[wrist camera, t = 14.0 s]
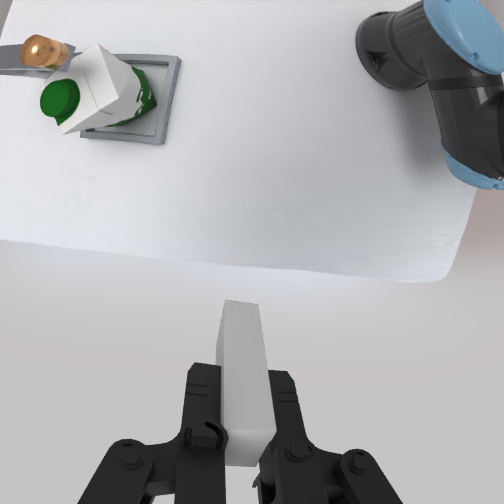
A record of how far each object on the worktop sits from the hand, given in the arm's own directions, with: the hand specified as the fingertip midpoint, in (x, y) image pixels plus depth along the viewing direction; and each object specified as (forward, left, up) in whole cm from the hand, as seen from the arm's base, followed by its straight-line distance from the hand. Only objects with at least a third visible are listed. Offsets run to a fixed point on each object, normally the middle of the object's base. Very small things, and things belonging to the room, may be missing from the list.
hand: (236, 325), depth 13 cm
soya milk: (-11, -19, -37) cm, 43 cm away
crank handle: (-14, -25, -13) cm, 31 cm away
